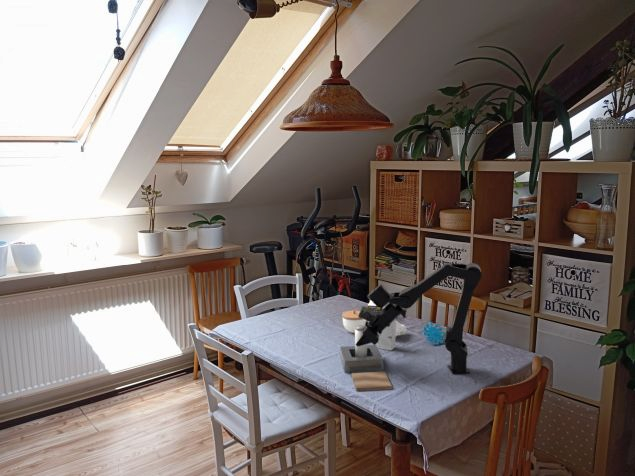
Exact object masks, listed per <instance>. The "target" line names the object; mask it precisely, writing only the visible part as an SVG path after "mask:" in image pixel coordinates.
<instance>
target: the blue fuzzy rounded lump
mask: <svg viewBox="0 0 635 476" xmlns="http://www.w3.org/2000/svg"><path fill="white" fill-rule="evenodd" d="M433 325H434V326H433ZM438 327H439V328H438ZM422 330H423V333H422V335H423V336H426V337H425V340H426V341H429V343H430V344H431V345H433V344H434V345H435V346H439V345H442V344H443V343H444V335H445V333H446V330H445V331H443V327H442V326H439V324H437V323H435V324H434V322H430V323H425V325H424V327H423V328H422ZM434 342H435V343H434Z"/></svg>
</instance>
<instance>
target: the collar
mask: <svg viewBox="0 0 635 476" xmlns="http://www.w3.org/2000/svg"><path fill="white" fill-rule="evenodd" d="M339 354H340V355H339V357H340V361H341V364H342V365H341V366H342V369H343V371H344V373H346V374H347V373H348V374H349V373H350V374H351V373H366V372H384V358H383V357H382V354H381V351H380V350H379V348H378V345H377V344H375V345H373V344H372V345H371V344H370V345H369V344H367V357H355V345H348V346H347V345H346V346H340V347H339Z"/></svg>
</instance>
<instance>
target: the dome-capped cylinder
mask: <svg viewBox="0 0 635 476" xmlns="http://www.w3.org/2000/svg"><path fill="white" fill-rule="evenodd" d="M366 327H367V326H364V325H357V326H355V333H354V346H355V357H367V345H368V344H365V345H361V346H358V347H357V346H356V343H357V342H358V340H359V339H360V338H361V336H362V335H363V333H362V332H363V329H365V328H366Z"/></svg>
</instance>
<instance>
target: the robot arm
mask: <svg viewBox="0 0 635 476" xmlns="http://www.w3.org/2000/svg"><path fill="white" fill-rule="evenodd" d="M482 276H483V274H482V270H481V267H480V266H479V265H478V264H477V263H475V262H470V263H468V264H466V263H450V262H445V263H443V265H442V266H440V267H439V268H437V269H436V270H435V271H433V272H432V273H431V274H429V275H428V276H426V277H425V278H423V279H422V280H421V281H419V282H417V283H415V284H413V285H411V286H408V287H405V288H404V289H401V290H400V291H397V292H391V293H390V292H389V291H388V290H387V289H386V288H385V287H384V285H382V284H379V285H377V286H376V288H373V289H372V290H371V291H370V292H369V293H368V294H367V298H368V299H369V301H370V300H371V301H372V302H373V303H374V304H375V305H376V306H377V307H380V308H381V307H384V306H385V308H384V309H382V310H381V311H378V312H377V313H376V312H374V311H373V310H371V309H368V307H366V306H362V307H361V309H360V310H359V311H360V313H359V315H358V317H359V318H363V319H365V320H366V323H365V326H367V327H366V328H365V329H363V332H362V333H363V335H362V336H361V338H360V339H359V340H358V342H357V343H356V346H357V347H358V346H361V345H365V344H367V345H369V344H372V345H377V344H378V341H379V334H381V333H382V331H383V330H384V329H385V328H386V327H389V326H390V324H391V323H392V322H393V321H394V320H395V319H396V320H397V318H398V317H399V316H402V317H403V318H404V319H406V317H407V309H411V307H412V306H413V305H415V303H416V302H417V301H418V300H419V299H420V298H421V297H422V296H423V294H425V293H426V292H428V291H429V290H431V289H432V288H434V287H435V286H436V285H438V284H440V283H441V282H442V281H444V280H445V279H446V278H448V277H454V278H456V279H460V280H462V289H461V292H460V293H461V294H460V296H459V301H458V303H457V307H456V310H455V313H454V317H453V322H452V323H451V326H449V325H446V327H445V328H446V330H445V331H446V333H445V335H444V341H443V343H445V344H444V345H445V346H444V347H445V349H446V350H447V351H448V352H450V365H448V364H447V367H446V368H447V369H448V370H449V372H450V373H452V374H453V375H458V374H470V373H471V370H470V369H469V368H468V367H467V366H468V351H469V350H468V345H467V343H465V341H463V339H464V338H463V335H464V326H465V323H466V319H467V316H468V313H469V309H470V305H471V301H472V298H473V296H474V295H473V294H474V292H475V290H476V288H477V287H478V285H479V283H480V281H481V280H482ZM378 333H379V334H378Z"/></svg>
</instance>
